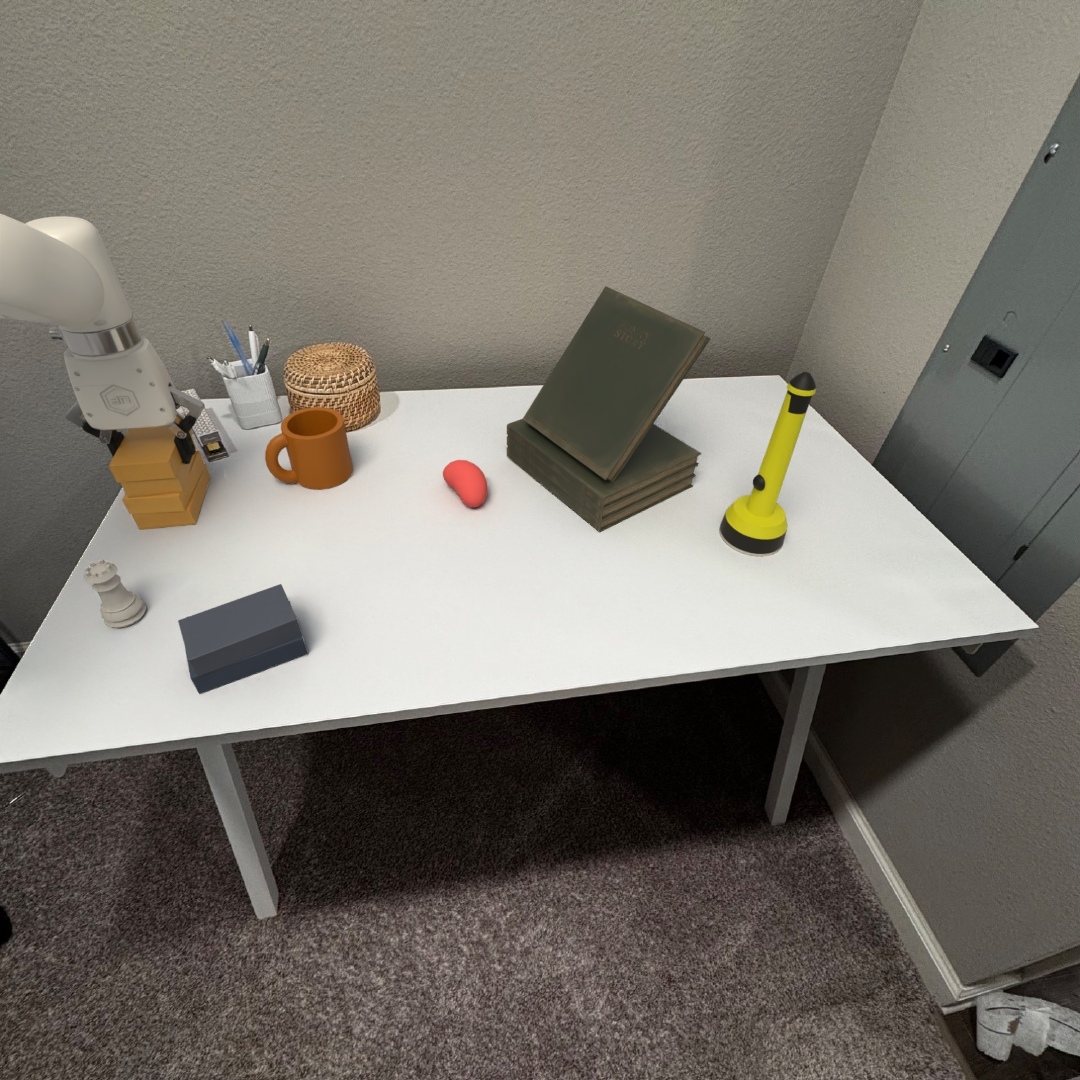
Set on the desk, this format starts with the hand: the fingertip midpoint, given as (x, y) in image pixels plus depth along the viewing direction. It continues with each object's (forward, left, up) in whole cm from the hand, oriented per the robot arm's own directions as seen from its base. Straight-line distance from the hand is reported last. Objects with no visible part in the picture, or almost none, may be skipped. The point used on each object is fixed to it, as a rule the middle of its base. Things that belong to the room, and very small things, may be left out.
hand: (158, 460), depth 85 cm
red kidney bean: (+38, -17, -7) cm, 42 cm away
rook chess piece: (-8, -21, -7) cm, 23 cm away
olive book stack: (+59, -21, -7) cm, 63 cm away
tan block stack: (0, 0, -7) cm, 7 cm away
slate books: (+4, -33, -7) cm, 34 cm away
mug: (+19, -2, -7) cm, 21 cm away
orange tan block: (0, 0, +1) cm, 1 cm away
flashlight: (+70, -44, -7) cm, 83 cm away
